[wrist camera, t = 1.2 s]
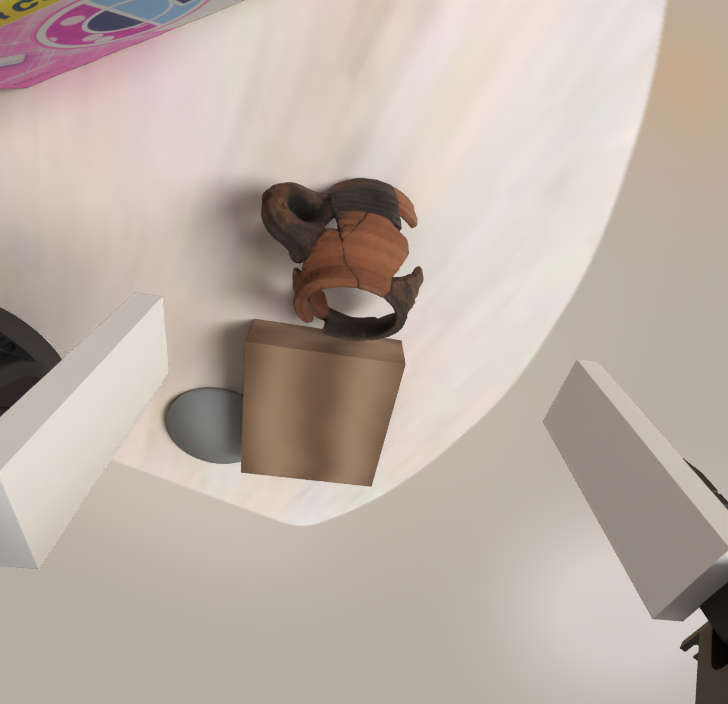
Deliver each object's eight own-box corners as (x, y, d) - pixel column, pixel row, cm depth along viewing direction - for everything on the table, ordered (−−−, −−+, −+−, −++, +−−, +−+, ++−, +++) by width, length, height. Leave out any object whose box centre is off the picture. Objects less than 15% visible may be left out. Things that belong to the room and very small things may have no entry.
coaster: (171, 453, 41) (169, 458, 40) (164, 381, 36) (162, 385, 36) (263, 463, 42) (262, 468, 41) (268, 394, 37) (267, 398, 37)
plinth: (249, 444, 40) (241, 472, 38) (254, 319, 33) (244, 341, 30) (370, 458, 42) (371, 486, 39) (401, 340, 34) (405, 364, 31)
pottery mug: (454, 218, 29) (452, 316, 25) (369, 277, 36) (358, 362, 32) (309, 103, 23) (279, 209, 19) (241, 201, 30) (208, 293, 26)
